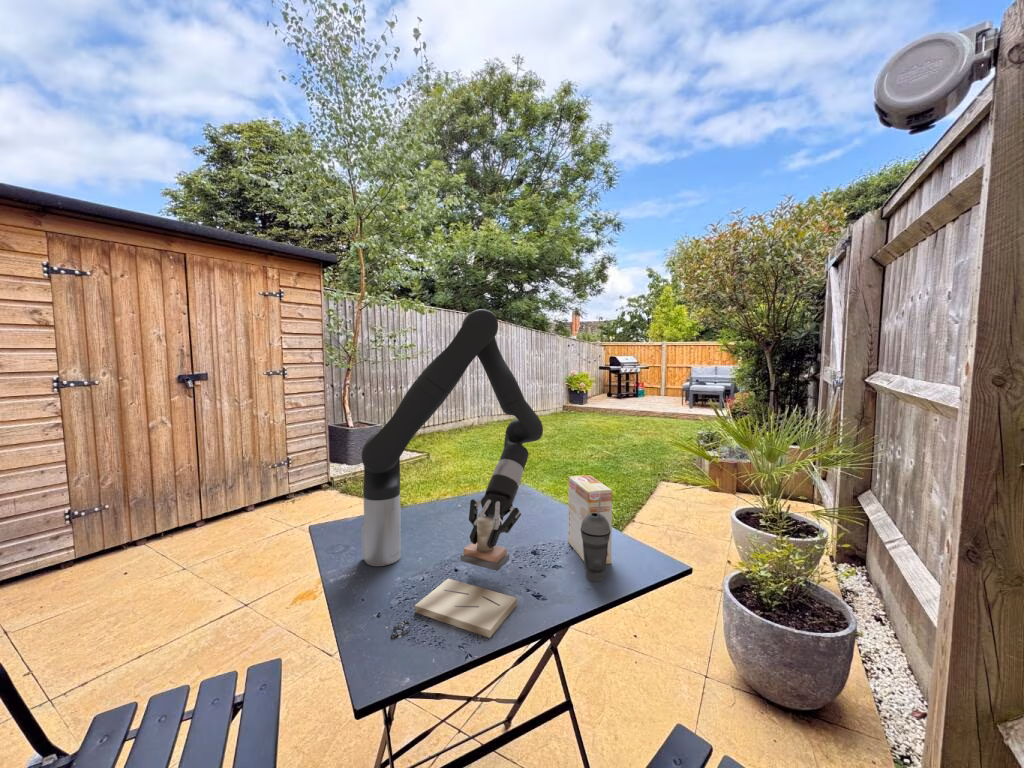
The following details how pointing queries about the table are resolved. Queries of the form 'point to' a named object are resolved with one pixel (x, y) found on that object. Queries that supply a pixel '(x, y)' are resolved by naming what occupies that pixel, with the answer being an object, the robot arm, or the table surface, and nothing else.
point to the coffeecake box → (587, 508)
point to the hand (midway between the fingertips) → (481, 544)
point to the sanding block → (485, 548)
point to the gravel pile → (400, 629)
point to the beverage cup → (595, 544)
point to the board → (467, 607)
